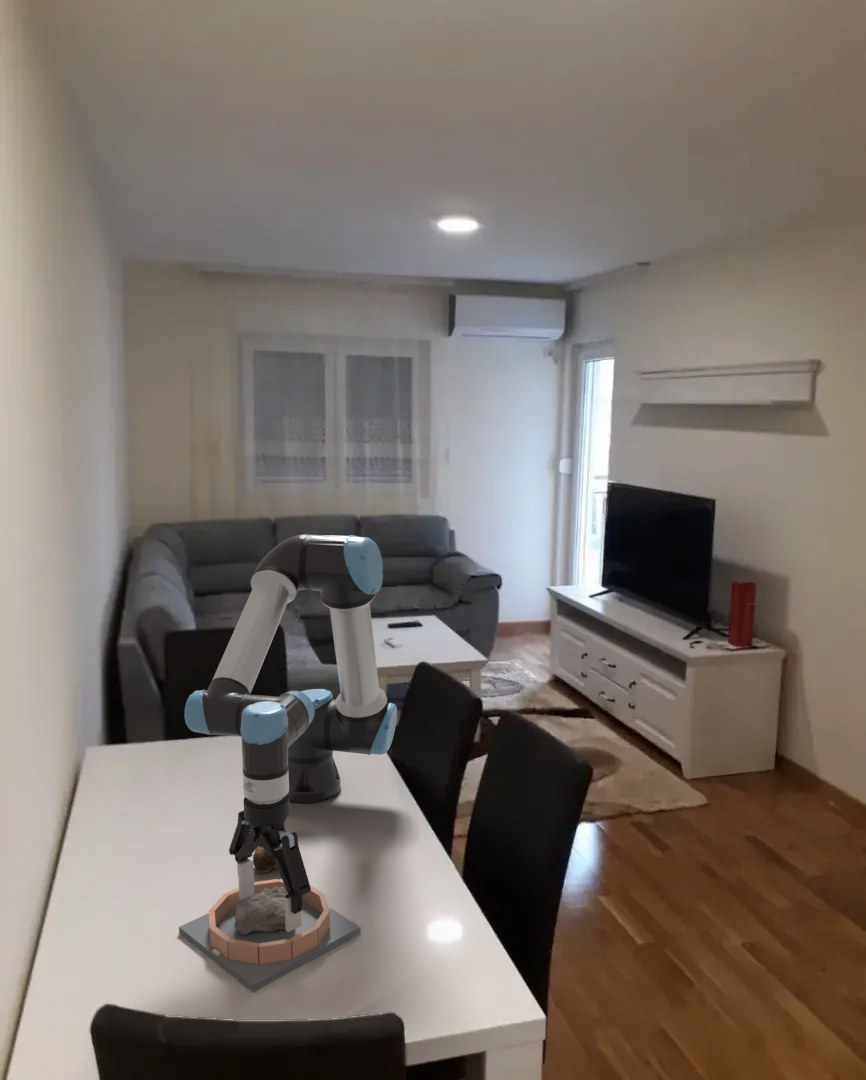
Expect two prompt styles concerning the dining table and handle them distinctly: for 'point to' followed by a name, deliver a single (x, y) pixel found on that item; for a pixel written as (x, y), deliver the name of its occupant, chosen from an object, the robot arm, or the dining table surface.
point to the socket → (267, 937)
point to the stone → (261, 912)
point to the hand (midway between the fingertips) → (269, 911)
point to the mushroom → (263, 860)
